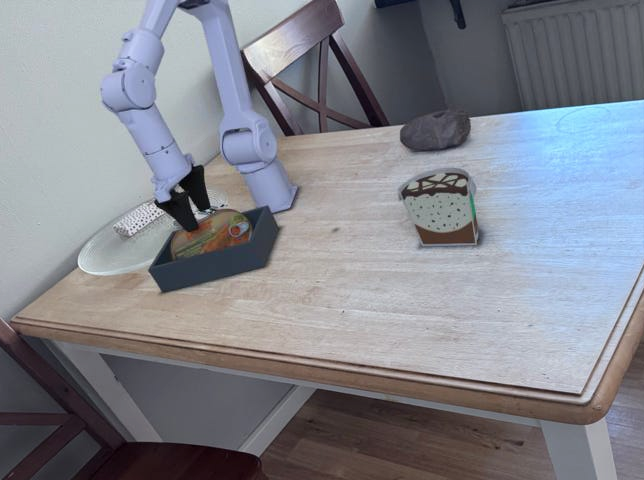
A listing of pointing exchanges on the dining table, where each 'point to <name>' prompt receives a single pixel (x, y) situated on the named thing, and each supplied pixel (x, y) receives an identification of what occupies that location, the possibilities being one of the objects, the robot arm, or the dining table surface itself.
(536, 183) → the dining table surface
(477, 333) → the dining table surface
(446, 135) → the perforated stone tool
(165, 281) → the bin
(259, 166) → the robot arm
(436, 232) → the food container
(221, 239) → the tin
